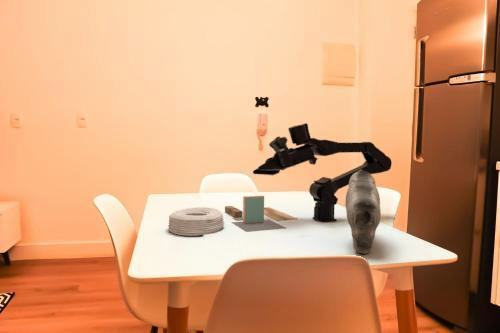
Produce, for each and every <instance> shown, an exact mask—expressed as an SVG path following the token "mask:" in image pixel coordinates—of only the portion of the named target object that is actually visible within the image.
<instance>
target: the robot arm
mask: <svg viewBox="0 0 500 333" xmlns="http://www.w3.org/2000/svg"><path fill="white" fill-rule="evenodd" d="M308 125H309V124H308V123H306V122H305V123H302V124H298V125H293V126H289V127H288V128H287V129H288V132H289V133H288V134H289V136H290V140H291V144H293V145H295V146H297V147H295V148H292V147H288V145H287V143H288V138H287V137H286V136H283V137H282V136H277V137H274V139H273V140H272V141H270V143H269V144H268V145H269V147H270V148H271V149H273V151H274V154H273V156H271V157H269V158H267V159H266V160H265V161H264V163H263V164H260V165H259V166H258V167H257V168H256V169H254V170H252V174H253V175H262V176H263V175H264V176H275V175H277V174H280V171H285V170H287V169H289V168H292V167H296V166H298V165H300V164H304V163H306V162H308V164H310V165H316V164H317V160H318V157H319V156H320V157H328V156H332V155H335V154H339V153H344V154H345V153H361V154H362V156H363V158H364V160H365V161H364V162H363V163H362V164H361V165H359V166H357V167H355V168H352V169H350V170H349V171H346V172H344V173H342V174H339V175H337V176H335V177H334V178H330V177H327V176H326V177H325V176H322V177H321V178H319V179H317V180H313V183H311V184H310V186H309V190H308V191H309V192H308V193H309V194H310V196H312V198H313V201H314V202H315V204H314V207H313V216H312V220H313V219H314V220H316V221H318V222H320V223H321V222H323V223H324V222H335V221H337V220H338V219H337V218H335V205H337V203H338V201H339V198H338V197H337V196H336V195H335V194H336V193H337V192H338V191H339V190H341V189H342V188H345V187H347V186H349V180H350V178H351V176H352V175H353V174H354V173H356V172H358V171H359V170H361V169H362V170H363V171H366V172H368V173H370V174H371V175H375V174H381V173H385V172H388V171H390V169H391V168H392V164H393V163H392V159H391V157H389V156H388V155H386V154H385V153H384V152H383V151H382V150H381V149H379V147H378V148H377V146H376V145H375V144H374V143H373V142H371V141H362V142H337V141H334V140H328V139H318V138H315V137H311V134H310V131H309V126H308ZM316 156H318V157H316Z"/></svg>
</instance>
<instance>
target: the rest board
mask: <svg viewBox="0 0 500 333" xmlns="http://www.w3.org/2000/svg"><path fill="white" fill-rule="evenodd" d="M264 216H266V217H268V218H269V219H270V218H271V219H272V220H274V221H278V222H280V221H291V220H292V221H293V220H298V218H297V217H295V216H292V215H290V214H287V213H284V212H283V211H280V210H277V209H274V208H272V207H270V206H267V207H265V206H264Z"/></svg>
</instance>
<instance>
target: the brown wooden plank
mask: <svg viewBox="0 0 500 333" xmlns="http://www.w3.org/2000/svg"><path fill="white" fill-rule="evenodd" d="M224 213H226V214H227V215H229V216H231V217H232V218H231V219H233V220H234V221H235V222H242V221H243V210H240V209H239V208H237V207H235V206H234V205H227V206H224Z"/></svg>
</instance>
